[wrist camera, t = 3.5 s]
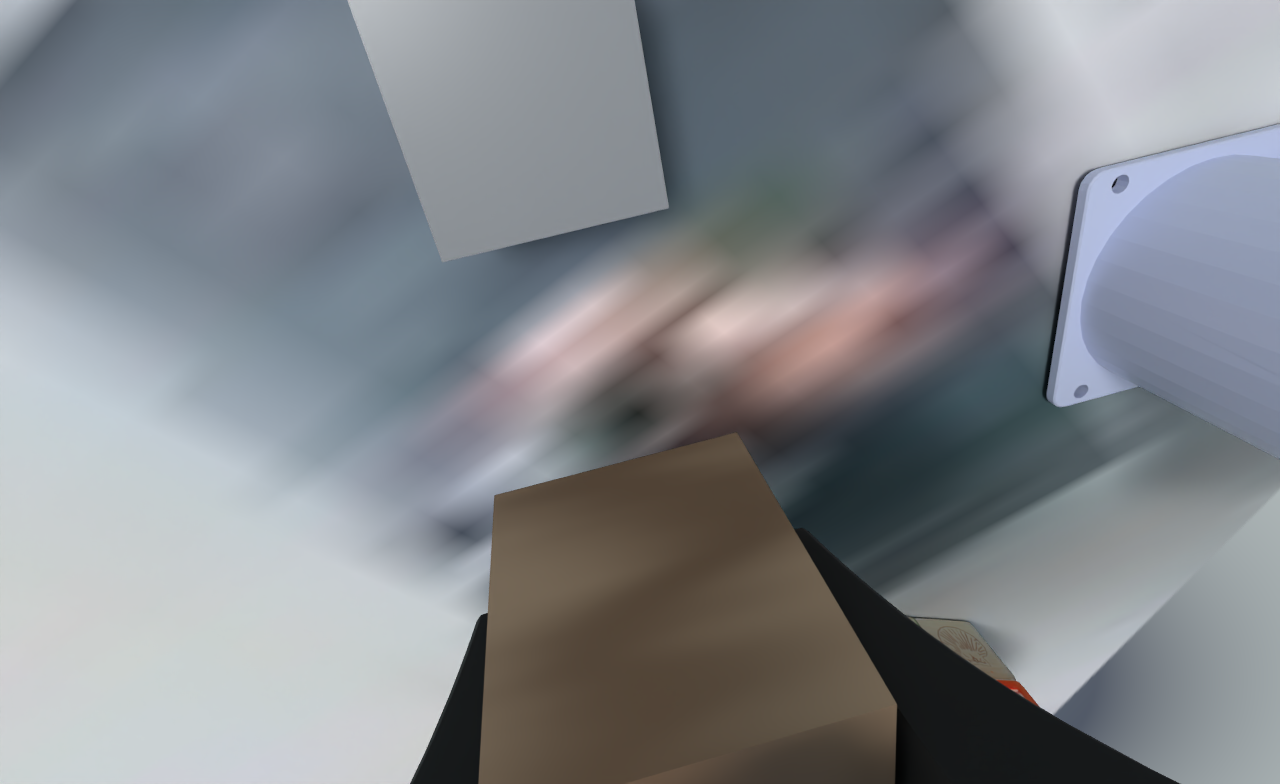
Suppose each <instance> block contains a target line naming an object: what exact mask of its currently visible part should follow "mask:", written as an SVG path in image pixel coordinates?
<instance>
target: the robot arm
mask: <svg viewBox="0 0 1280 784" xmlns="http://www.w3.org/2000/svg"><path fill="white" fill-rule="evenodd" d="M1116 178H1117V182H1116V184H1115V186H1114V187H1113V188H1112V185H1113V182H1114V181H1115V179H1116ZM1136 387H1141V388H1143V389H1145V390H1147V391H1149V392H1151V393H1153V394H1155V395H1157V396H1159V397H1161V398H1162V399H1164V400H1166V401H1168V402H1170V403H1172V404H1174V405H1176V406H1178V407H1180V408H1182V409H1184V410H1185V411H1187V412H1189V413H1191V414H1193V415H1195V416H1197V417H1199V418H1201V419H1203V420H1205V421H1207V422H1209V423H1210V424H1212V425H1214V426H1216V427H1218V428H1220V429H1222V430H1224V431H1226V432H1228V433H1230V434H1232V435H1233V436H1235V437H1237V438H1239V439H1241V440H1243V441H1245V442H1247V443H1249V444H1251V445H1253V446H1255V447H1257V448H1258V449H1260V450H1262V451H1264V452H1266V453H1268V454H1270V455H1272V456H1274V457H1276V458H1278V459H1280V124H1277V125H1273V126H1269V127H1265V128H1261V129H1257V130H1253V131H1249V132H1244V133H1240V134H1236V135H1232V136H1228V137H1224V138H1220V139H1216V140H1212V141H1208V142H1204V143H1199V144H1195V145H1191V146H1187V147H1183V148H1179V149H1175V150H1171V151H1167V152H1163V153H1159V154H1155V155H1150V156H1146V157H1142V158H1138V159H1134V160H1130V161H1126V162H1122V163H1118V164H1114V165H1110V166H1105V167H1101V168H1097V169H1095V170H1093V171H1091V172H1090V173H1089V174H1088V175H1086V176H1085V178H1084V179H1083V181H1082V182H1081V185H1080V188H1079V192H1078V198H1077V204H1076V211H1075V217H1074V223H1073V230H1072V236H1071V242H1070V249H1069V255H1068V261H1067V268H1066V274H1065V280H1064V287H1063V293H1062V299H1061V306H1060V312H1059V318H1058V325H1057V331H1056V337H1055V344H1054V350H1053V356H1052V363H1051V369H1050V375H1049V382H1048V388H1047V399H1048V401H1049V402H1051V403H1052V404H1054V405H1055V406H1058V407H1065V406H1069V405H1072V404H1076V403H1080V402H1084V401H1087V400H1091V399H1095V398H1098V397H1102V396H1106V395H1110V394H1113V393H1117V392H1121V391H1124V390H1128V389H1132V388H1136ZM795 532H796V534H797V535H798V537H799V539H800V540H801V542H802V544H803V545H804V547H805V549H806V551H807V552H808V554H809V556H810V557H811V559H812V561H813V562H814V564H815V566H816V568H817V569H818V571H819V573H820V574H821V576H822V578H823V579H824V581H825V583H826V585H827V586H828V588H829V590H830V591H831V593H832V595H833V596H834V598H835V600H836V601H837V603H838V605H839V607H840V608H841V610H842V612H843V613H844V615H845V617H846V618H847V620H848V622H849V624H850V625H851V627H852V629H853V630H854V632H855V634H856V635H857V637H858V639H859V641H860V642H861V644H862V646H863V647H864V649H865V651H866V652H867V654H868V656H869V658H870V659H871V661H872V663H873V664H874V666H875V668H876V669H877V671H878V673H879V674H880V676H881V678H882V680H883V681H884V683H885V685H886V686H887V688H888V690H889V691H890V693H891V695H892V697H893V698H894V700H895V702H896V703H897V720H896V759H895V784H1179V783H1177V782H1176V781H1174V780H1172V779H1170V778H1168V777H1166V776H1164V775H1162V774H1159V773H1158V772H1155V771H1154V770H1151V769H1150V768H1148V767H1146V766H1144V765H1142V764H1140V763H1139V762H1137V761H1135V760H1133V759H1131V758H1129V757H1127V756H1126V755H1124V754H1122V753H1120V752H1118V751H1117V750H1114V749H1113V748H1111V747H1109V746H1107V745H1106V744H1104V743H1102V742H1100V741H1098V740H1096V739H1095V738H1093V737H1091V736H1089V735H1087V734H1085V733H1083V732H1082V731H1080V730H1078V729H1076V728H1074V727H1072V726H1071V725H1069V724H1067V723H1065V722H1064V721H1062V720H1060V719H1059V718H1057V717H1055V716H1054V715H1052V714H1050V713H1049V712H1047V711H1045V710H1044V709H1042V708H1040V707H1039V706H1037V705H1035V704H1034V703H1032V702H1030V701H1029V700H1027V699H1025V698H1024V697H1022V696H1020V695H1019V694H1017V693H1016V692H1014V691H1013V690H1011V689H1009V688H1008V687H1006V686H1005V685H1003V684H1002V683H1000V682H998V681H997V680H995V679H994V678H992V677H991V676H989V675H988V674H986V673H985V672H983V671H982V670H980V669H979V668H977V667H976V666H974V665H973V664H971V663H970V662H968V661H967V660H965V659H964V658H963V657H961V656H960V655H958V654H957V653H955V652H954V651H953V650H951V649H950V648H948V647H947V646H946V645H944V644H943V643H942V642H940V641H939V640H937V639H936V638H935V637H933V636H932V635H931V634H929V633H928V632H926V631H925V630H924V629H923V628H921V627H920V626H919V625H917V624H916V623H915V622H913V621H912V620H911V619H909V618H908V617H907V616H906V615H904V614H903V613H902V612H901V611H899V610H898V609H897V608H896V607H894V606H893V605H892V604H891V603H889V602H888V601H887V600H886V599H884V598H883V597H882V596H881V595H879V594H878V593H877V592H876V591H874V590H873V589H872V588H871V587H870V586H868V585H867V584H866V583H865V582H864V581H863V580H861V579H860V578H859V577H858V576H857V575H856V574H854V573H853V572H852V571H851V570H850V569H849V568H848V567H846V566H845V565H844V564H843V563H842V562H841V561H840V560H839V559H837V558H836V557H835V556H834V555H833V554H832V553H831V552H830V551H829V550H828V549H827V548H825V547H824V546H823V545H822V544H821V543H820V542H819V541H818V540H817V539H816V538H815V537H814V536H813V535H812V534H811V533H810V532H809V531H807V530H805V529H804V528H799V529H795ZM487 621H488V613H486V614H483V615H481V616H480V617H479V619H478V620H477V622H476V625H475V628H474V631H473V634H472V637H471V640H470V642H469V645H468V648H467V651H466V654H465V656H464V659H463V662H462V664H461V667H460V670H459V672H458V675H457V677H456V680H455V683H454V685H453V688H452V690H451V693H450V695H449V698H448V700H447V702H446V705H445V707H444V709H443V712H442V714H441V717H440V719H439V721H438V724H437V726H436V728H435V731H434V733H433V735H432V738H431V740H430V742H429V745H428V747H427V749H426V751H425V754H424V756H423V758H422V760H421V762H420V764H419V766H418V768H417V770H416V772H415V775H414V777H413V779H412V781H411V783H410V784H478V783H479V765H480V747H481V729H482V711H483V693H484V675H485V657H486V639H487Z"/></svg>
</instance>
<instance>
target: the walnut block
mask: <svg viewBox="0 0 1280 784" xmlns="http://www.w3.org/2000/svg"><path fill="white" fill-rule="evenodd" d="M896 720H897V703H896V702H895V700H894V698H893V697H892V695H891V693H890V691H889V690H888V688H887V686H886V685H885V683H884V681H883V680H882V678H881V676H880V674H879V673H878V671H877V669H876V668H875V666H874V664H873V663H872V661H871V659H870V658H869V656H868V654H867V652H866V651H865V649H864V647H863V646H862V644H861V642H860V641H859V639H858V637H857V635H856V634H855V632H854V630H853V629H852V627H851V625H850V624H849V622H848V620H847V618H846V617H845V615H844V613H843V612H842V610H841V608H840V607H839V605H838V603H837V601H836V600H835V598H834V596H833V595H832V593H831V591H830V590H829V588H828V586H827V585H826V583H825V581H824V579H823V578H822V576H821V574H820V573H819V571H818V569H817V568H816V566H815V564H814V562H813V561H812V559H811V557H810V556H809V554H808V552H807V551H806V549H805V547H804V545H803V544H802V542H801V540H800V539H799V537H798V535H797V534H796V532H795V530H794V529H793V527H792V525H791V523H790V522H789V520H788V518H787V517H786V515H785V513H784V512H783V510H782V508H781V506H780V505H779V503H778V501H777V500H776V498H775V496H774V495H773V493H772V491H771V489H770V488H769V486H768V484H767V483H766V481H765V479H764V478H763V476H762V474H761V472H760V471H759V469H758V467H757V466H756V464H755V462H754V461H753V459H752V457H751V456H750V454H749V452H748V450H747V449H746V447H745V445H744V444H743V442H742V440H741V439H740V437H739V435H738V433H737V432H736V433H732V434H728V435H724V436H720V437H717V438H713V439H709V440H705V441H701V442H697V443H694V444H690V445H686V446H682V447H678V448H674V449H671V450H667V451H663V452H659V453H655V454H651V455H648V456H644V457H640V458H636V459H632V460H628V461H625V462H621V463H617V464H613V465H609V466H605V467H602V468H598V469H594V470H590V471H586V472H582V473H579V474H575V475H571V476H567V477H563V478H559V479H556V480H552V481H548V482H544V483H540V484H536V485H533V486H529V487H525V488H521V489H517V490H513V491H510V492H506V493H502V494H498V495H494V513H493V531H492V549H491V567H490V585H489V603H488V621H487V639H486V657H485V675H484V693H483V711H482V729H481V747H480V765H479V783H478V784H895V759H896Z"/></svg>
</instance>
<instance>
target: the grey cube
mask: <svg viewBox="0 0 1280 784" xmlns="http://www.w3.org/2000/svg"><path fill="white" fill-rule="evenodd" d="M348 3H349V6H350V8H351V11H352V14H353V17H354V19H355V22H356V25H357V28H358V31H359V33H360V36H361V39H362V42H363V44H364V47H365V50H366V53H367V55H368V58H369V61H370V64H371V66H372V69H373V72H374V75H375V78H376V80H377V83H378V86H379V89H380V91H381V94H382V97H383V100H384V102H385V105H386V108H387V111H388V113H389V116H390V119H391V122H392V125H393V127H394V130H395V133H396V136H397V138H398V141H399V144H400V147H401V149H402V152H403V155H404V158H405V160H406V163H407V166H408V169H409V171H410V174H411V177H412V180H413V183H414V185H415V188H416V191H417V194H418V196H419V199H420V202H421V205H422V207H423V210H424V213H425V216H426V218H427V221H428V224H429V227H430V230H431V232H432V235H433V238H434V241H435V243H436V246H437V249H438V252H439V254H440V257H441V260H442V262H446V261H450V260H454V259H458V258H463V257H467V256H471V255H475V254H479V253H484V252H488V251H492V250H496V249H500V248H504V247H509V246H513V245H517V244H521V243H525V242H529V241H534V240H538V239H542V238H546V237H550V236H555V235H559V234H563V233H567V232H571V231H575V230H580V229H584V228H588V227H592V226H596V225H600V224H605V223H609V222H613V221H617V220H621V219H626V218H630V217H634V216H638V215H642V214H646V213H651V212H655V211H659V210H663V209H667V208H669V205H668V199H667V193H666V187H665V181H664V175H663V169H662V163H661V157H660V151H659V145H658V139H657V133H656V127H655V121H654V115H653V109H652V103H651V97H650V91H649V85H648V79H647V73H646V67H645V61H644V55H643V49H642V43H641V37H640V31H639V25H638V19H637V12H636V6H635V0H348Z"/></svg>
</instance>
